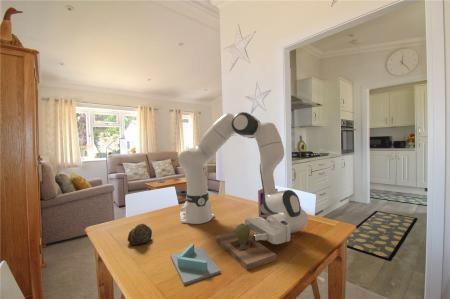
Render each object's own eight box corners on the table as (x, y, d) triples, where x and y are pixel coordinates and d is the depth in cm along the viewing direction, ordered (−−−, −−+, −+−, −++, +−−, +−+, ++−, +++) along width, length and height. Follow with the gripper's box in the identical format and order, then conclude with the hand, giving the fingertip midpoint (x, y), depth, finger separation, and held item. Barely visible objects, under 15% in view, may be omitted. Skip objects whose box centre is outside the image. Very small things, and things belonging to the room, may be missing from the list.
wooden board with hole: (216, 240, 91) (216, 236, 91) (240, 234, 97) (240, 229, 97) (247, 270, 70) (246, 264, 70) (276, 259, 75) (276, 254, 75)
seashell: (119, 236, 85) (144, 234, 85) (128, 211, 95) (151, 210, 95) (127, 251, 92) (151, 250, 92) (135, 227, 101) (157, 226, 101)
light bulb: (235, 246, 86) (234, 221, 85) (249, 245, 86) (248, 220, 86) (237, 253, 80) (236, 227, 80) (252, 252, 81) (251, 226, 80)
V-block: (170, 256, 80) (170, 246, 80) (201, 248, 85) (200, 239, 85) (184, 285, 64) (183, 272, 63) (220, 272, 69) (220, 261, 69)
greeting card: (259, 218, 115) (258, 190, 115) (254, 214, 123) (253, 187, 122) (278, 216, 118) (278, 188, 118) (272, 211, 125) (272, 186, 125)
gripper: (260, 211, 100) (234, 217, 93) (292, 226, 81) (263, 234, 75) (260, 224, 100) (234, 231, 94) (293, 242, 82) (263, 252, 75)
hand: (247, 233), depth 84 cm, fingers open, 8 cm apart
